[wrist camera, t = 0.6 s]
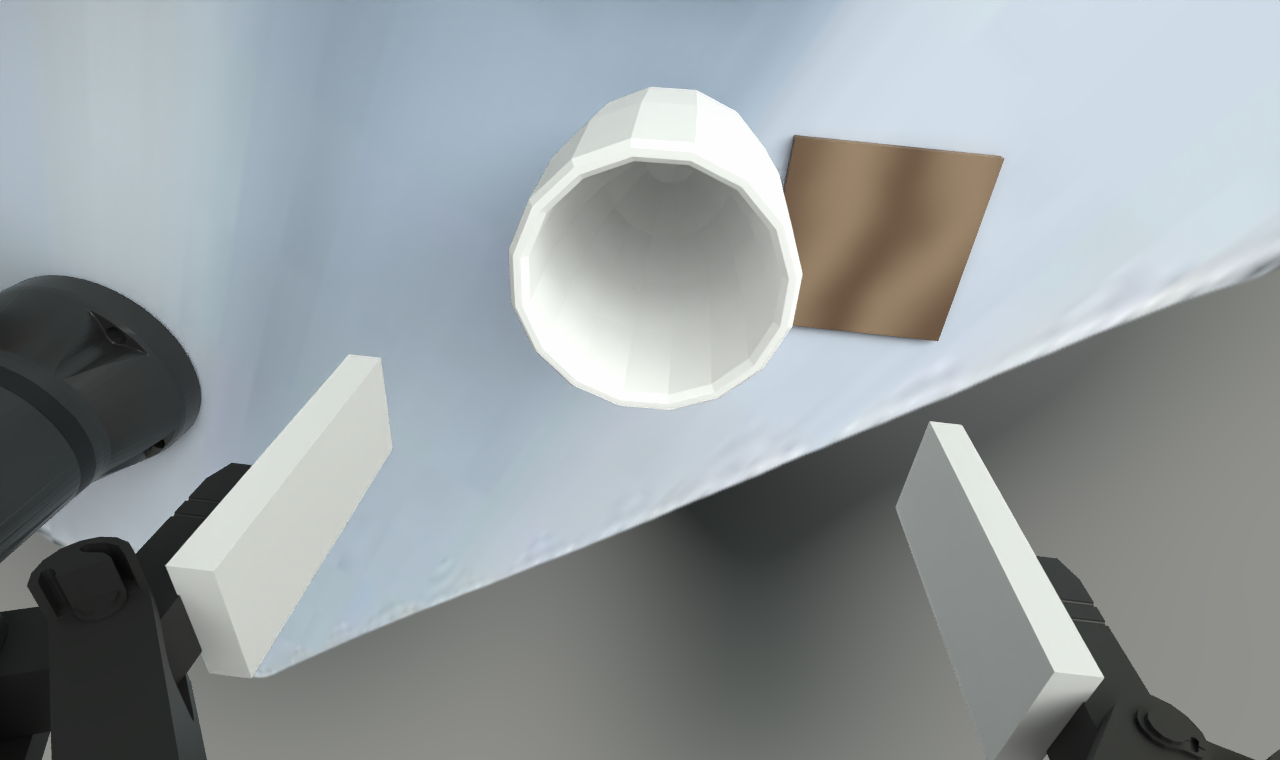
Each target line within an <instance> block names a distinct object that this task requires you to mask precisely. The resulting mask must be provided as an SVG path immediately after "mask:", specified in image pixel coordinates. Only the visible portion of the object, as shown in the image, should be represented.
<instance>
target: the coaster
mask: <svg viewBox="0 0 1280 760" xmlns="http://www.w3.org/2000/svg"><path fill="white" fill-rule="evenodd" d="M1003 161H1004V158H1002V157H1001V156H995V155H985V154H975V153H965V152H955V151H945V150H936V149H926V148H916V147H906V146H896V145H887V144H877V143H867V142H857V141H847V140H838V139H828V138H818V137H808V136H798V135H794V140H793V145H792V150H791V155H790V160H789V165H788V170H787V175H786V180H785V186H784V191H783V192H784V196H785V200H786V204H787V209H788V213H789V217H790V221H791V225H792V230H793V234H794V238H795V243H796V247H797V252H798V256H799V260H800V265H801V269H802V280H801V285H800V290H799V295H798V300H797V305H796V310H795V315H794V321H793V325H794V326H803V327H812V328H822V329H831V330H840V331H850V332H859V333H868V334H878V335H887V336H896V337H906V338H915V339H924V340H934V341H938V340H939V337H940V335H941V332H942V329H943V326H944V324H945V321H946V318H947V315H948V313H949V310H950V307H951V304H952V302H953V299H954V296H955V293H956V290H957V288H958V285H959V282H960V279H961V277H962V274H963V271H964V268H965V266H966V263H967V260H968V257H969V255H970V252H971V249H972V246H973V244H974V241H975V238H976V235H977V233H978V230H979V227H980V224H981V222H982V219H983V216H984V213H985V211H986V208H987V205H988V202H989V200H990V197H991V194H992V191H993V189H994V186H995V183H996V180H997V177H998V175H999V172H1000V169H1001V166H1002V164H1003Z"/></svg>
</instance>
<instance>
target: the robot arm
mask: <svg viewBox="0 0 1280 760" xmlns="http://www.w3.org/2000/svg"><path fill="white" fill-rule="evenodd" d="M199 408H200V387H199V382H198V379H197V376H196V373H195V370H194V368H193V366H192V364H191V362H190V360H189V358H188V356H187V355H186V353H185V351H184V350H183V348H182V347H181V346H180V344H179V343H178V342H177V340H176V339H175V338H174V337H173V336H172V334H171V333H170V332H169V331H168V330H167V329H166V328H165V327H164V326H163V325H162V324H161V323H160V322H159V321H158V320H157V319H155V318H154V317H153V316H152V315H151V314H150V313H148V312H147V311H146V310H144V309H143V308H142V307H140V306H139V305H137V304H136V303H134V302H133V301H131V300H130V299H128V298H126V297H124V296H123V295H121V294H119V293H117V292H115V291H113V290H111V289H109V288H106V287H104V286H101V285H99V284H96V283H93V282H90V281H87V280H83V279H79V278H74V277H68V276H58V275H48V276H39V277H34V278H30V279H27V280H24V281H22V282H20V283H18V284H16V285H14V286H12V287H10V288H8V289H5V290H3V291H1V292H0V563H1V562H2V561H3V560H4V559H5V558H6V557H8V556H9V555H10V554H11V553H12V552H13V551H14V550H15V549H17V548H18V547H19V546H20V545H21V544H22V543H23V542H25V541H26V540H27V539H28V538H29V537H30V536H31V535H32V534H33V533H35V532H36V531H37V530H38V529H39V528H40V527H42V526H43V525H44V524H45V523H46V522H47V521H48V520H50V519H51V518H52V517H53V516H54V515H55V514H56V513H57V512H59V511H60V510H61V509H62V508H63V507H64V506H65V505H67V504H68V503H69V502H70V501H71V500H72V499H73V498H74V497H75V496H77V495H78V494H79V493H80V492H81V491H82V490H83V489H85V488H86V487H87V486H88V485H89V484H91V483H92V482H94V481H96V480H99V479H101V478H103V477H106V476H108V475H110V474H112V473H115V472H117V471H119V470H122V469H124V468H126V467H129V466H131V465H134V464H136V463H138V462H141V461H143V460H145V459H147V458H150V457H152V456H154V455H157V454H159V453H160V452H162V451H164V450H165V449H167V448H168V447H170V446H171V445H172V444H173V443H174V442H175V441H176V440H177V439H179V438H180V437H181V436H182V435H183V434H184V433H185V432H186V431H187V430H188V429H189V428H190V427H191V426H192V424H193V423H194V421H195V420H196V417H197V415H198V412H199ZM392 449H393V447H392V439H391V431H390V424H389V416H388V408H387V401H386V393H385V386H384V378H383V370H382V363H381V358H378V357H370V356H361V355H352V354H349V355H348V356H347V357H346V358H345V359H344V361H343V362H342V363H341V364H340V365H339V366H338V368H337V369H336V370H335V371H334V372H333V373H332V374H331V376H330V377H329V378H328V379H327V380H326V381H325V382H324V384H323V385H322V386H321V387H320V388H319V389H318V391H317V392H316V393H315V394H314V395H313V396H312V397H311V399H310V400H309V401H308V402H307V403H306V404H305V406H304V407H303V408H302V409H301V410H300V411H299V412H298V414H297V415H296V416H295V417H294V418H293V419H292V420H291V422H290V423H289V424H288V425H287V426H286V427H285V429H284V430H283V431H282V432H281V433H280V434H279V435H278V437H277V438H276V439H275V440H274V441H273V442H272V443H271V445H270V446H269V447H268V448H267V449H266V450H265V452H264V453H263V454H262V455H261V456H260V457H259V458H258V460H257V461H256V462H255V463H254V464H253V465H246V464H237V463H231V464H229V465H228V466H226V467H224V468H223V469H221V470H219V471H218V472H216V473H214V474H213V475H211V476H209V477H208V478H206V479H205V480H204V481H203V482H202V484H201V485H200V486H199V487H198V488H197V489H196V490H195V491H194V492H193V493H192V494H191V495H190V496H189V500H188V501H185V502H184V503H183V504H182V505H181V506H180V507H179V508H178V509H177V510H176V511H175V514H174V516H171V517H170V518H169V519H168V520H167V521H166V522H165V523H164V524H163V525H162V526H161V527H160V528H159V529H158V531H157V532H156V533H155V534H154V535H153V536H152V537H151V538H150V539H149V540H148V541H147V542H146V543H145V544H144V546H143V547H142V548H141V549H140V550H139V551H138V552H137V553H136V554H135V552H134V550H133V549H132V547H131V545H130V544H129V542H127V541H124V540H122V539H119V538H117V537H97V538H92V539H87V540H82V541H79V542H76V543H74V544H71V545H69V546H66V547H64V548H62V549H60V550H58V551H57V552H55V553H54V554H52V555H51V556H49V557H47V558H46V559H44V560H43V561H42V562H41V564H39V565H38V567H37V568H36V569H35V570H34V571H33V572H32V573H31V576H30V579H29V582H28V585H27V587H28V588H29V590H30V592H31V593H32V595H33V597H34V599H35V600H36V602H37V604H38V606H39V607H33V608H27V609H18V610H11V611H4V612H0V760H42V757H43V754H44V750H45V747H46V744H47V741H48V737H49V734H50V731H51V750H52V760H207V759H206V753H205V748H204V744H203V739H202V734H201V729H200V724H199V719H198V714H197V709H196V704H195V700H194V695H193V690H192V685H191V681H190V679H189V677H188V674H187V672H188V670H189V669H190V667H191V666H192V665H193V663H194V662H195V660H196V659H197V658H198V656H199V655H200V653H201V654H202V657H203V659H204V662H205V664H206V667H207V669H208V672H209V673H212V674H220V675H228V676H237V677H245V678H252V677H253V675H254V674H255V672H256V670H257V669H258V667H259V665H260V664H261V662H262V661H263V659H264V657H265V656H266V654H267V652H268V651H269V649H270V648H271V646H272V644H273V643H274V641H275V639H276V638H277V636H278V635H279V633H280V631H281V630H282V628H283V626H284V625H285V623H286V622H287V620H288V618H289V617H290V615H291V613H292V612H293V610H294V609H295V607H296V605H297V604H298V602H299V600H300V599H301V597H302V596H303V594H304V592H305V591H306V589H307V587H308V586H309V584H310V582H311V581H312V579H313V578H314V576H315V574H316V573H317V571H318V569H319V568H320V566H321V565H322V563H323V561H324V560H325V558H326V556H327V555H328V553H329V552H330V550H331V548H332V547H333V545H334V543H335V542H336V540H337V539H338V537H339V535H340V534H341V532H342V530H343V529H344V527H345V526H346V524H347V522H348V521H349V519H350V517H351V516H352V514H353V513H354V511H355V509H356V508H357V506H358V504H359V503H360V501H361V500H362V498H363V496H364V495H365V493H366V491H367V490H368V488H369V486H370V485H371V483H372V482H373V480H374V478H375V477H376V475H377V473H378V472H379V470H380V469H381V467H382V465H383V464H384V462H385V460H386V459H387V457H388V456H389V454H390V452H391V451H392ZM896 510H897V513H898V516H899V519H900V521H901V524H902V527H903V530H904V532H905V535H906V538H907V541H908V543H909V546H910V549H911V552H912V555H913V557H914V560H915V563H916V566H917V569H918V571H919V574H920V577H921V580H922V583H923V585H924V588H925V591H926V593H927V596H928V599H929V602H930V605H931V608H932V610H933V613H934V616H935V619H936V622H937V624H938V627H939V629H940V633H941V635H942V638H943V641H944V644H945V646H946V649H947V652H948V655H949V658H950V660H951V663H952V666H953V669H954V672H955V674H956V677H957V680H958V683H959V685H960V688H961V691H962V694H963V697H964V699H965V702H966V705H967V708H968V711H969V713H970V716H971V719H972V722H973V724H974V727H975V730H976V733H977V735H978V738H979V741H980V744H981V747H982V749H983V752H984V754H985V758H986V760H1043V758H1044V757H1045V756H1046V755H1047V754H1048V757H1049V759H1050V760H1254V759H1251V758H1249V757H1246V756H1244V755H1241V754H1239V753H1236V752H1233V751H1231V750H1228V749H1226V748H1223V747H1220V746H1218V745H1215V744H1213V743H1211V742H1208V741H1206V739H1205V737H1204V735H1203V734H1202V732H1201V731H1200V730H1199V729H1198V728H1197V726H1196V725H1195V724H1194V723H1193V722H1192V721H1191V720H1190V719H1189V718H1188V717H1187V716H1186V715H1184V714H1183V713H1182V712H1180V711H1179V710H1178V709H1176V708H1175V707H1173V706H1172V705H1171V704H1169V703H1167V702H1165V701H1163V700H1160V699H1159V698H1156V697H1154V696H1152V695H1150V694H1149V692H1148V690H1147V689H1146V687H1145V685H1144V684H1143V682H1142V681H1141V679H1140V677H1139V676H1138V674H1137V672H1136V671H1135V669H1134V668H1133V666H1132V664H1131V663H1130V661H1129V660H1128V658H1127V656H1126V654H1125V653H1124V651H1123V650H1122V648H1121V646H1120V645H1119V643H1118V641H1117V640H1116V638H1115V637H1114V635H1113V633H1112V632H1111V630H1110V629H1109V627H1108V626H1105V620H1104V619H1103V617H1102V615H1101V614H1100V612H1099V610H1098V609H1097V607H1094V606H1093V601H1092V599H1091V597H1090V596H1089V594H1088V592H1087V591H1086V589H1085V588H1084V586H1083V584H1082V583H1081V581H1080V580H1079V579H1078V578H1077V577H1076V576H1075V575H1074V574H1073V573H1072V572H1071V571H1070V570H1069V569H1068V568H1067V567H1066V566H1064V565H1063V564H1062V563H1061V562H1060V561H1059V560H1058V559H1057V558H1048V557H1039V556H1035V554H1034V552H1033V550H1032V549H1031V547H1030V545H1029V543H1028V541H1027V540H1026V538H1025V536H1024V535H1023V533H1022V531H1021V529H1020V527H1019V526H1018V524H1017V522H1016V520H1015V518H1014V517H1013V515H1012V513H1011V511H1010V510H1009V508H1008V506H1007V504H1006V502H1005V501H1004V499H1003V497H1002V495H1001V494H1000V492H999V490H998V488H997V486H996V485H995V483H994V481H993V479H992V478H991V476H990V474H989V472H988V470H987V469H986V467H985V465H984V464H983V462H982V460H981V458H980V456H979V455H978V453H977V451H976V449H975V448H974V446H973V444H972V442H971V441H970V439H969V437H968V435H967V433H966V431H965V430H964V428H963V426H962V425H957V424H948V423H939V422H931V421H930V422H929V424H928V427H927V429H926V432H925V434H924V437H923V439H922V442H921V444H920V447H919V450H918V452H917V455H916V457H915V460H914V462H913V465H912V467H911V470H910V472H909V475H908V477H907V480H906V483H905V485H904V487H903V490H902V492H901V495H900V498H899V500H898V503H897V505H896ZM1267 760H1280V750H1278V751H1277V752H1275V753H1274V754H1273V755H1271V756H1270V757H1269V758H1268V759H1267Z"/></svg>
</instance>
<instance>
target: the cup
mask: <svg viewBox="0 0 1280 760" xmlns="http://www.w3.org/2000/svg"><path fill="white" fill-rule="evenodd" d="M509 267H510V286H511V304H512V306H513V308H514V310H515V312H516V314H517V316H518V318H519V320H520V322H521V324H522V326H523V328H524V330H525V332H526V334H527V336H528V339H529V341H530V343H531V345H532V347H533V349H534V350H535V351H536V352H537V353H538V354H539V355H540V356H541V357H542V358H543V359H544V360H545V361H546V362H548V363H549V364H550V365H551V366H552V367H553V368H554V369H555V370H556V371H557V372H558V373H559V374H560V375H562V376H563V377H564V378H565V379H566V380H567V381H568V382H569V383H570V384H571V385H573V386H575V387H577V388H580V389H582V390H584V391H587V392H589V393H591V394H594V395H596V396H598V397H600V398H603V399H605V400H607V401H610V402H612V403H614V404H616V405H619V406H629V407H641V408H652V409H664V410H672V409H676V408H680V407H684V406H688V405H692V404H696V403H700V402H705V401H709V400H713V399H717V398H720V397H722V396H723V395H725V394H726V393H728V392H729V391H731V390H732V389H734V388H735V387H737V386H738V385H740V384H741V383H743V382H744V381H746V380H747V379H749V378H750V377H752V376H753V375H755V374H756V373H758V372H759V371H761V370H762V369H763V368H764V367H765V365H766V364H767V362H768V361H769V360H770V358H771V357H772V355H773V354H774V352H775V351H776V349H777V348H778V346H779V345H780V344H781V342H782V341H783V339H784V338H785V336H786V335H787V333H788V332H789V331H790V329H791V328H792V326H793V321H794V315H795V310H796V305H797V300H798V295H799V290H800V285H801V280H802V269H801V265H800V260H799V256H798V252H797V247H796V243H795V238H794V234H793V230H792V225H791V221H790V217H789V213H788V209H787V204H786V200H785V196H784V192H783V188H782V184H781V180H780V176H779V173H778V171H777V169H776V167H775V166H774V164H773V162H772V160H771V159H770V157H769V155H768V153H767V152H766V150H765V148H764V147H763V145H762V144H761V143H760V141H759V140H758V139H757V137H756V136H755V135H754V134H753V132H752V131H751V130H750V128H749V127H748V126H747V125H746V123H745V122H744V121H743V119H742V118H741V117H740V116H739V114H738V113H737V112H736V111H734V110H732V109H731V108H729V107H727V106H725V105H723V104H721V103H719V102H718V101H716V100H714V99H712V98H710V97H708V96H706V95H704V94H703V93H701V92H699V91H697V90H688V89H673V88H659V87H649V88H646V89H643V90H640V91H638V92H635V93H632V94H630V95H627V96H624V97H621V98H619V99H616V100H613V101H611V102H608V103H607V104H606V105H605V106H604V107H603V108H602V109H600V110H599V111H598V112H597V113H596V114H595V115H594V116H593V117H592V118H591V119H590V120H589V121H588V122H587V123H586V124H585V125H584V126H583V127H582V128H581V129H580V130H579V131H578V132H577V133H576V134H575V135H574V136H573V137H572V138H571V139H570V140H569V141H568V142H567V143H566V144H565V145H564V146H563V147H562V148H561V149H560V150H559V151H558V152H557V153H556V154H555V155H554V156H553V157H552V159H551V161H550V162H549V164H548V166H547V168H546V170H545V171H544V173H543V175H542V177H541V179H540V180H539V182H538V184H537V186H536V188H535V189H534V191H533V193H532V195H531V197H530V198H529V200H528V203H527V206H526V208H525V211H524V213H523V216H522V218H521V221H520V223H519V226H518V228H517V231H516V233H515V236H514V238H513V241H512V244H511V246H510V249H509Z"/></svg>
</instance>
